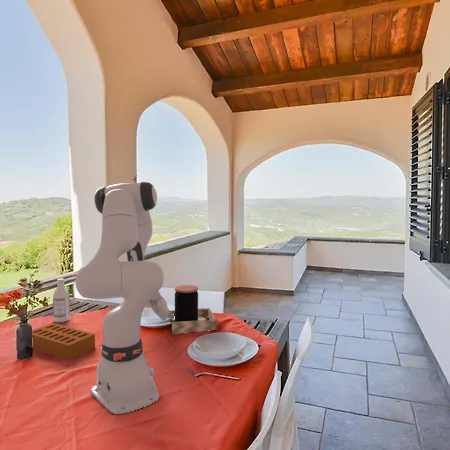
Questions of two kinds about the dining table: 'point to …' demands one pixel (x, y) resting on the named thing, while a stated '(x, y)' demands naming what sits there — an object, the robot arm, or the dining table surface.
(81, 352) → the brick
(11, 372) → the dining table surface
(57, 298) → the bath foam
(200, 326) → the tray
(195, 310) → the coffee jar
